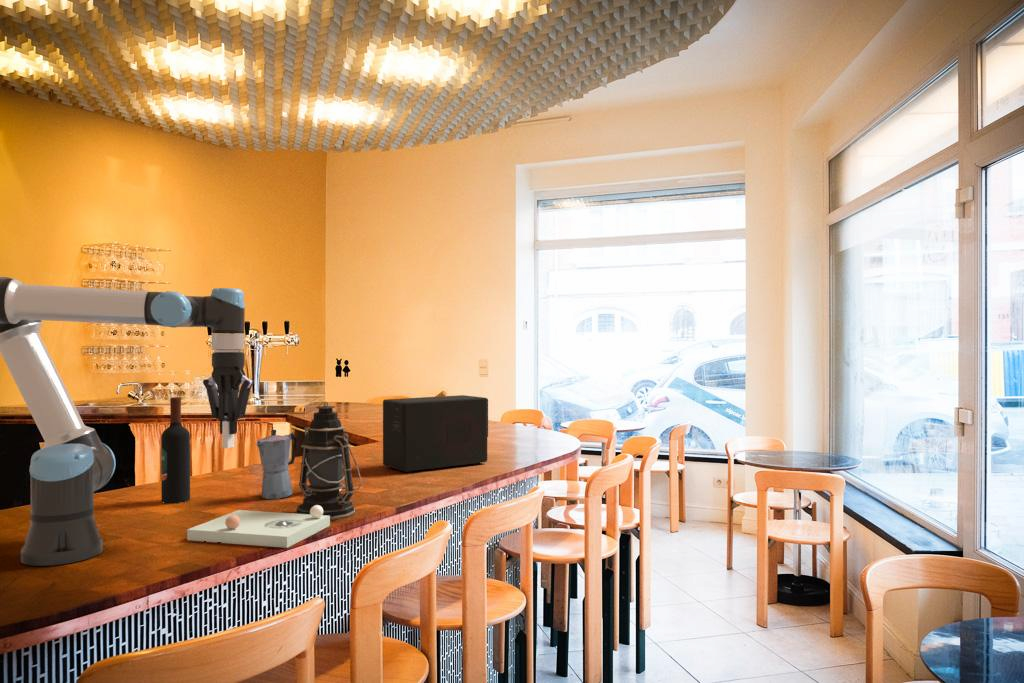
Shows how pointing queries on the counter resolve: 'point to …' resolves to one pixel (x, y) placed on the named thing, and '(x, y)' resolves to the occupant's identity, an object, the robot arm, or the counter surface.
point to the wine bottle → (175, 458)
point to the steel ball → (281, 523)
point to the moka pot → (276, 464)
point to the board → (260, 529)
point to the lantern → (326, 466)
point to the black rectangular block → (434, 432)
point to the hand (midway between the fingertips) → (228, 447)
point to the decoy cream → (316, 511)
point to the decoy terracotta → (232, 522)
